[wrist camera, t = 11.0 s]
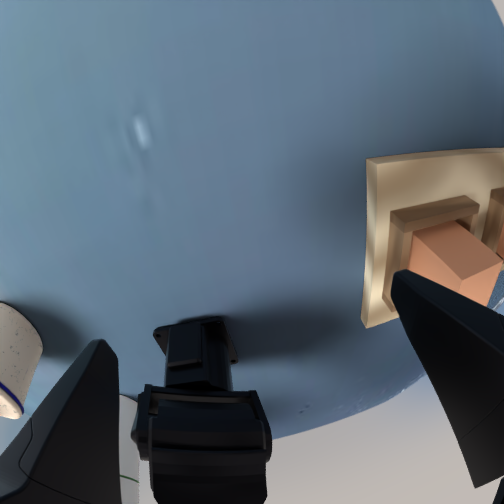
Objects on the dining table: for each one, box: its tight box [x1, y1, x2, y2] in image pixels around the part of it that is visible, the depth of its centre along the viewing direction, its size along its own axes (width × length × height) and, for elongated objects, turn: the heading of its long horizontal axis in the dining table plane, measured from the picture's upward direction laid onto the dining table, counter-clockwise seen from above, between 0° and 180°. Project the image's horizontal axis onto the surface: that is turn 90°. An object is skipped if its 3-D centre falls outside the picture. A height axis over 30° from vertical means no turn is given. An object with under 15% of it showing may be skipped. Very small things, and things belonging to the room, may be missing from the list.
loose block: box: [407, 220, 503, 306], centre depth 18 cm, size 5×5×7 cm
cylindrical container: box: [119, 395, 140, 504], centre depth 20 cm, size 7×7×25 cm
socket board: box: [361, 148, 504, 329], centre depth 19 cm, size 16×24×8 cm, turn 101°
